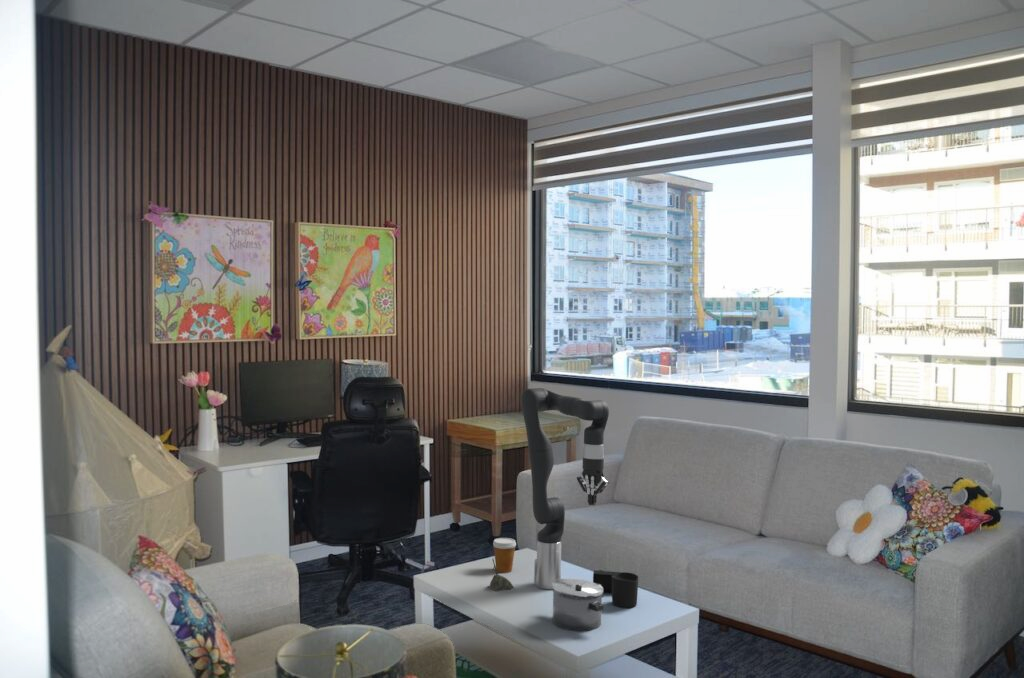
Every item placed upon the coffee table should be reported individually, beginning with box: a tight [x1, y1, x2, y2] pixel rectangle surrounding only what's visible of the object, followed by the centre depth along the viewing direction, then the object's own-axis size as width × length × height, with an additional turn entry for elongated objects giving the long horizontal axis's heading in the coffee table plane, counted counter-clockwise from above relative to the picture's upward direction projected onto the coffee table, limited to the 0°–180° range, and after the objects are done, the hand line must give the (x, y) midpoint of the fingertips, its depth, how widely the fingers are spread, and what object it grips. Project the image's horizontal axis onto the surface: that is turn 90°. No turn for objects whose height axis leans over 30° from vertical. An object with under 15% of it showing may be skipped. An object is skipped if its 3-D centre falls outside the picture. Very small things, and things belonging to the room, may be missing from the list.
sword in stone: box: [486, 558, 515, 592], centre depth 295 cm, size 10×8×12 cm
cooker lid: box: [552, 578, 603, 597], centre depth 261 cm, size 18×17×3 cm
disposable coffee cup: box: [492, 537, 517, 574], centre depth 317 cm, size 10×10×12 cm
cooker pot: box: [552, 589, 605, 632], centre depth 261 cm, size 17×23×10 cm
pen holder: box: [611, 571, 639, 609], centre depth 279 cm, size 9×9×10 cm
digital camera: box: [592, 569, 621, 594], centre depth 294 cm, size 10×5×7 cm, turn 81°
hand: (592, 504), depth 280 cm, fingers closed
